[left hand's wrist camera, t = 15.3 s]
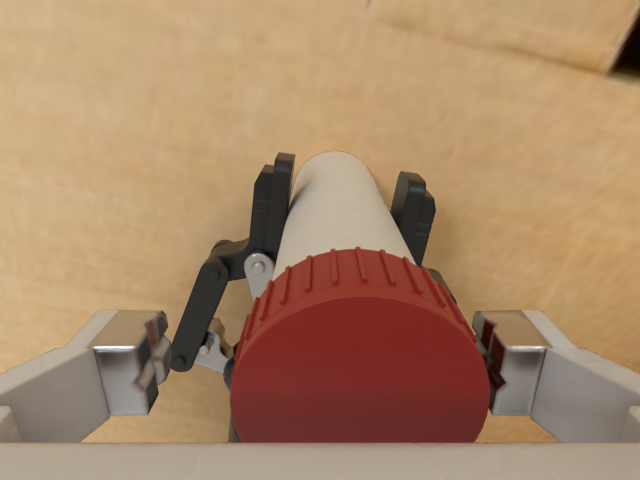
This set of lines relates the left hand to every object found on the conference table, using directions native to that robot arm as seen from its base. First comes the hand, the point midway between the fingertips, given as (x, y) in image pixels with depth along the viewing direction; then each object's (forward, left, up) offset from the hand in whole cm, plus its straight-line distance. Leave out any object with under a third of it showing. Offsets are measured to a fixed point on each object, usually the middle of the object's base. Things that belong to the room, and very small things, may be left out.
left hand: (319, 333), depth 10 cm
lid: (-1, 0, +2) cm, 2 cm away
